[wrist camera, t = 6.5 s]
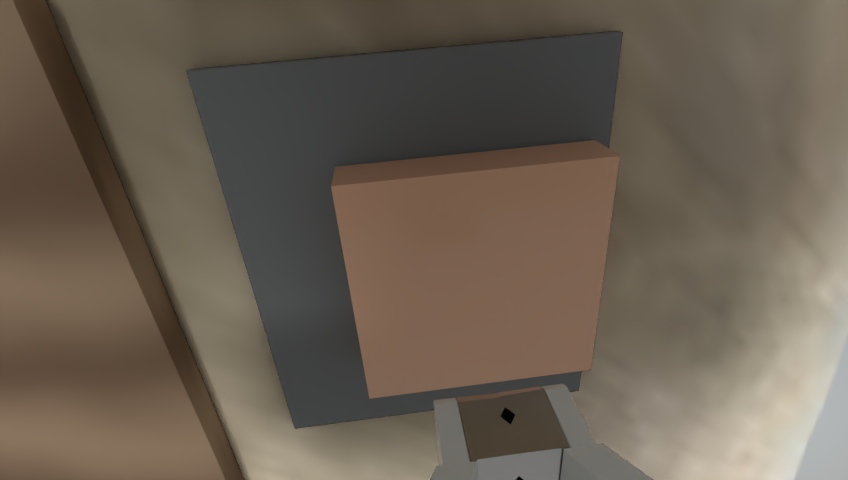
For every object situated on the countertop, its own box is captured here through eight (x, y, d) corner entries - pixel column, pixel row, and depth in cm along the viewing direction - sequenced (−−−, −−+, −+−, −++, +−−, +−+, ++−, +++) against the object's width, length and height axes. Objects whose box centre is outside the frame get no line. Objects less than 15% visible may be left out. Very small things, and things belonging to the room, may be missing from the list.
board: (-303, 22, 11) (-374, 26, 10) (43, -5, 11) (10, -5, 10) (67, 515, 21) (50, 543, 19) (248, 489, 21) (241, 515, 20)
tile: (330, 186, 12) (620, 155, 13) (335, 165, 14) (593, 138, 14) (369, 398, 16) (590, 369, 17) (369, 363, 18) (572, 337, 18)
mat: (191, 68, 13) (186, 71, 12) (616, 30, 13) (622, 31, 13) (296, 420, 19) (295, 428, 19) (575, 383, 20) (578, 390, 20)
